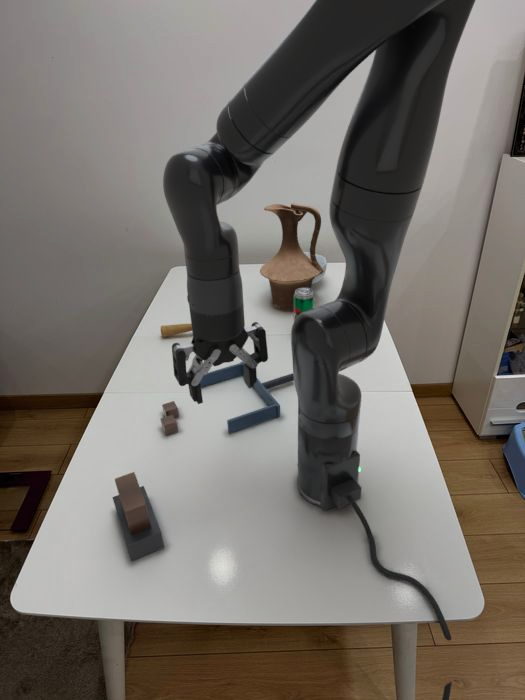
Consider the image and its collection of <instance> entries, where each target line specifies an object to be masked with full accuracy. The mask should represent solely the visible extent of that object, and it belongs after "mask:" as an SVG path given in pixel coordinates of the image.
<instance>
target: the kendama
mask: <svg viewBox="0 0 525 700" xmlns="http://www.w3.org/2000/svg"><path fill="white" fill-rule="evenodd" d="M159 331H160V335H161V337H162V338H167V337H171V336H174V335H180V334H184V333H189V332H191V331H192V324H191V323H178V324H168V325H160V330H159Z"/></svg>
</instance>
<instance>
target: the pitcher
mask: <svg viewBox="0 0 525 700" xmlns="http://www.w3.org/2000/svg"><path fill="white" fill-rule="evenodd" d="M263 210H264V211H267V212H271V213H273V214H275V215H276V216H277V218H278V219H279V221H280V225H281V232H282V237H281V244H280V246H279V250H278V252H277V253H276V254H275V255H274V256H273V258H271V259H270V260H269V261H267V262H266V263H264V264H263V265H261V267H260V268H259V273H260V275H261V276H262V277H264V278H266V279H268V283H269V286H270V293H271V300H272V301H271V304H272V306H273V307H274V308H276V309H278V310H282V311H289V312H290V311H293V295H294V293H295V290H296V289H298V288H310V289H312V286H313V284H312V281H313V279H314V278H315V277H316V276H318V275H320V274H322V273H323V269H322V267H321V265H320V264H319V263H318V262H317V260H316V256H315V254H316V248H317V242H318V238H319V234H320V231H321V227H322V216H321V214H320V212H319V210H318V209H317V208H316V207H314V206H311V205H307V204H305V205H304V204H298V203H295V202H293V203H290V206H289V205H285V204H281V203H277V204H271V205H267V206H265V207H263ZM307 213H309V214H311V215H312V216H313V218H314V228H313V232H312V236H311V240H310V245H309V252H310V258H311V259H310V258H309V257H308V256H306V255H305V254H304V252H305V251H303V249H302V248H301V246H300V243H299V238H298V227H299V222H301V221H302V219H303V218H304V217H305V215H306V214H307Z"/></svg>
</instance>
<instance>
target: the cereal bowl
mask: <svg viewBox="0 0 525 700" xmlns="http://www.w3.org/2000/svg"><path fill="white" fill-rule="evenodd" d="M303 252H304V254H305V255H306V256H308V257H309V258H310V251H303ZM315 256H316V260H317V262H318V263H319V264H320V265H321V267H322V269H323V273H322V274H320V275H318V276H316V277H315V278H314V279H313V281H312V285H314V284H316V283H317V282H320V281H321V280H322V279H323V277H324V276H325V274H326V272H327V263H328V262H327V259H326V258H325V256H323V255H320V254H319V253H315ZM310 259H311V258H310Z"/></svg>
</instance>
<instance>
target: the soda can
mask: <svg viewBox="0 0 525 700" xmlns="http://www.w3.org/2000/svg"><path fill="white" fill-rule="evenodd" d="M313 308H315V294H314V291H313V289H312V288H311V289H310V288H298V289H296V290H295V293H294V295H293V310H292V311H293V315H292V317H293V321H294V320H295V319H296V317H297V316H298V315H299V314H301V313H303V312H305V311H308V310H311V309H313Z"/></svg>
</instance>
